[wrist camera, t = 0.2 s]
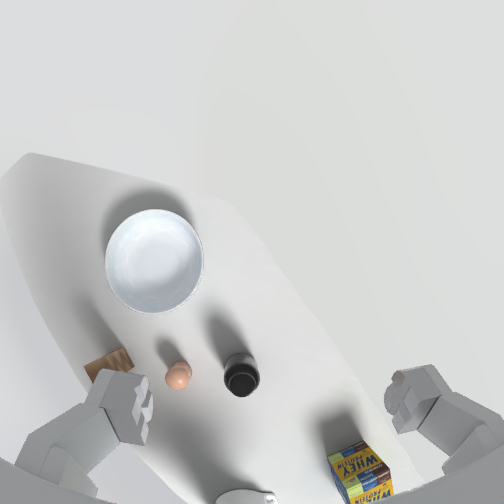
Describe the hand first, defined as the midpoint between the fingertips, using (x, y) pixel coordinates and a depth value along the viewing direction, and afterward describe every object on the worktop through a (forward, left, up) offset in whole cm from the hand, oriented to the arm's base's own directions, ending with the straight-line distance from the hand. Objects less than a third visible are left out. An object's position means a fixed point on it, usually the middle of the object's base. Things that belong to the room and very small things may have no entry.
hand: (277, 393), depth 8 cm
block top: (+1, +31, -46) cm, 55 cm away
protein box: (-53, -3, -54) cm, 76 cm away
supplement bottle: (-12, +7, -54) cm, 56 cm away
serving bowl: (+16, +12, -54) cm, 58 cm away
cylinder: (-7, +19, -54) cm, 57 cm away
